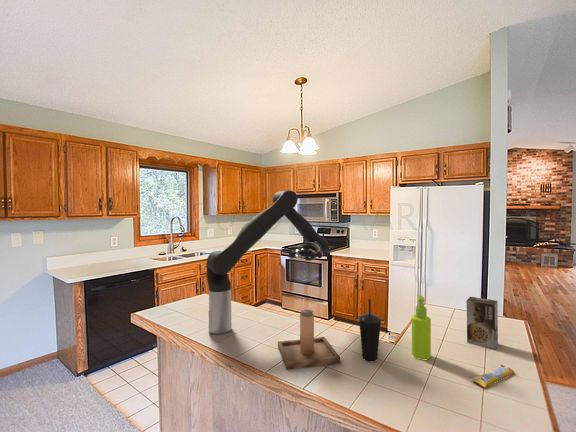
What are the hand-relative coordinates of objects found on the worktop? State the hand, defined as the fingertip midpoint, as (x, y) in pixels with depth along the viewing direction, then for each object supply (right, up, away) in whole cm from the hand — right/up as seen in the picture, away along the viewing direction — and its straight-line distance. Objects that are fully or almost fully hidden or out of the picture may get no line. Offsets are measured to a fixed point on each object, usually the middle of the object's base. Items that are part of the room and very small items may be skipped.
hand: (301, 255), depth 120 cm
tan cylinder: (+1, -31, -19) cm, 36 cm away
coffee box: (+67, -31, -11) cm, 75 cm away
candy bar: (+55, -32, -34) cm, 72 cm away
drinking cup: (+22, -32, -21) cm, 44 cm away
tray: (+1, -32, -19) cm, 37 cm away
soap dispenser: (+40, -32, -20) cm, 55 cm away
